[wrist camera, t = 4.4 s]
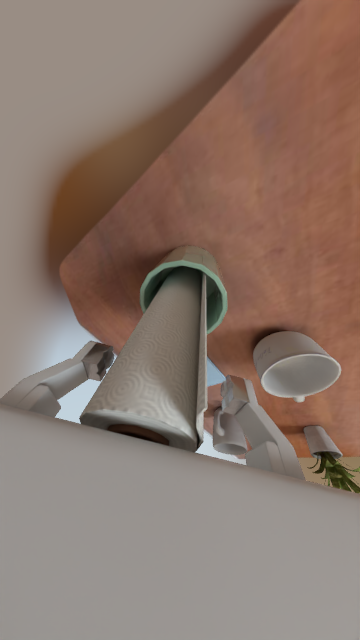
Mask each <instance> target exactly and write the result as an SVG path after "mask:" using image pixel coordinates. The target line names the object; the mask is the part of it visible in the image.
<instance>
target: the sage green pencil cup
mask: <svg viewBox="0 0 360 640" xmlns="http://www.w3.org/2000/svg"><path fill="white" fill-rule="evenodd" d="M178 266H187V267H191V268H195V269H196V270H197V271H198V272H199V273H200V275H201V277H202V278H203V272H204V273H205V274H206V328H207V334H209V333H211V332H212V331H213V330H214V329H215V328H216V327H217V326H218V325H220V324H221V322H222V320H223V318H224V316H225V313H226V311H227V292H226V288H225V285H224V281H223V278H222V274H221V270H220V268H219V266H218V264H217V262H216V260H215V258H214V256H212V255H211V254H210V253H209V252H207V251H206V250H205V249H203V248H200V247H196V246H191V245H188V246H183V247H179V248H176V249H174V250H173V251H171V252H170V253H169V254H167V255H166V256H165V257H164V258H163V259H162V260H161V261H160V262H159V263H158V264H157V265H156V266H155V267H154V268H153V269H152V270H151V271H150V272H149V273H148V275H147V277H146V278H145V280H144V282H143V284H142V286H141V288H140V306H141V308H142V311H143V313H145V312H146V310H147V308H148V307H149V305H150V304H151V302H152V300H153V299H154V297H155V296H156V294H157V292H158V291H159V289H160V288H161V286H162V284H163V283H164V281H165V280H166V278H167V276H168V275H169V274H170V272H171V271H172V270H173V269H175V268H176V267H178Z"/></svg>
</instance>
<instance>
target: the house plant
mask: <svg viewBox="0 0 360 640" xmlns="http://www.w3.org/2000/svg"><path fill="white" fill-rule="evenodd" d="M304 433H305V436H306V440H307V443H308V446H309V449H310V453H311V455H312V456H313V457H315V458H317V463H318V458H319V459H321V464H320V468H319V470H317V471H315V472H314V473H317V474H318V473H322V472H323V471H324V468H325V469H326V474H325V478H322V479H328V486H330V479H331V482H332V485H333V487H334V488H338V489H342V490H346V491H350V492H352V491H351V490H350V488H349V487H348V485H349V486H350V487H351V488H352V489H353V490H354V492H355V493H358V494H360V488H359V487H358V486H357V485H356V484H355V483H354V482H352V481H351V480H350V478H352V477H355V476H353V475H351V474H350V473H348V472H347V471H346V470H345V469H346V468H345V467H343V466H341V464H340V463H339V462H338V461H336V460H335V459H338V458H340V457H342V453H341V452H340V451H339V449H338V448H337V447H336V445H335V444H334V443H333V441H332V440H331V438H330V437H329V436H328V434H327V433H326V432H325V430H324V429H323V428H322V427H320V426H307V427H305V428H304ZM317 463H316V464H317ZM315 466H316V465H315ZM315 466H314V467H315ZM311 468H313V467H311ZM344 468H345V469H344ZM347 470H348V469H347ZM350 471H354V472H359V471H360V467H359V468H357V469H355V470H350ZM329 475H330V478H329ZM345 481H346V482H347V484H348V485H347V484H346V482H345Z"/></svg>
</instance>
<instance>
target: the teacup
mask: <svg viewBox="0 0 360 640" xmlns="http://www.w3.org/2000/svg"><path fill="white" fill-rule="evenodd" d="M253 360H254V364H255V367H256V370H257V373H258V376H259V378H260V382H261V385H262V387H263V388H264V390H266V391H267V392H268V393H270V394H272V395H275V396H279V397H293V399H294V400H295V401H296V402H303V401H304V400H305V398H304V396H308V395H312V394H315V393H318V392H320V391H323V390H324V389H326V388H328V387H329V386H331V385H332V384H333V383H334V382H335V381H336V380H337V379H338V377H339V376H340V373H341V367H340V365H339V363H338V362H337V361H336V360H335V359H333V358H332V357H330V356H329V355H328V354H327V353H326V352H325V351H324V350H323V349H322V348H321V347H320V346H319V345H318V344H317V343H316V342H315V341H313V340H312V339H311V338H309V337H308V336H306V335H304V334H302V333H299V332H293V331H282V332H277V333H274V334H271V335H269V336H267V337H265V338H264V339H262V340H261V341H260V342H259V343H258V344H257V345H256V347H255V349H254V352H253Z"/></svg>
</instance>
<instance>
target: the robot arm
mask: <svg viewBox="0 0 360 640" xmlns="http://www.w3.org/2000/svg"><path fill="white" fill-rule="evenodd" d="M112 351H113V346H109V345H105V344H102V343H98V342H94V341H90V342H88V343H87V344H86V345H85V346H84V347H83V348H82V349H81V350H80V351H79V352H78V353H77V354H76V355H75V356H74V358H73V359H68V360H65V361H63V362H61V363H58V364H56V365H54V366H52V367H49V368H47V369H45V370H43V371H40V372H38V373H36V374H33V375H31V376H29V377H27V378H24V379H23V380H22V381H20V382H19V383H18V384H17V385H16V386H15V387H14V388H12V389H11V390H10V391H9V392H8V393H7V394H6V395H4V396H3V397H2V398H1V399H0V640H360V494H358V493H354V492H350V491H346V490H342V489H338V488H334V487H330V486H326V485H322V484H318V483H314V482H310V481H306V480H305V477H304V475H303V472H302V469H301V466H300V464H299V461H298V459H297V456H296V453H295V451H294V448H293V446H292V445H291V444H290V442H289V441H288V440H287V438H286V437H285V436H284V435H283V433H282V432H281V431H280V430H279V428H278V427H277V426H276V425H275V423H274V422H273V421H272V420H271V418H270V417H269V416H268V415H267V413H266V412H265V411H264V409H263V408H262V407H261V406H260V405H258V402H257V399H256V395H255V392H254V388H253V385H252V382H251V380H248V379H244V378H240V377H236V376H232V375H227V376H226V380H225V381H223V383H222V385H221V396H222V397H223V400H222V401H221V402H222V412H226V413H229V414H233V415H235V417H236V419H237V421H238V423H239V425H240V427H241V428H242V430H243V432H244V434H245V436H246V438H247V440H248V441H249V443H250V445H251V447H252V450H250V451H248V452H247V453H246V454H245V457H246V464H247V465H243V464H238V463H234V462H230V461H227V460H223V459H219V458H214V457H211V456H207V455H203V454H198V453H195V452H191V451H187V450H183V449H179V448H175V447H171V446H167V445H163V444H159V443H155V442H151V441H147V440H143V439H139V438H135V437H131V436H127V435H123V434H119V433H115V432H111V431H107V430H103V429H99V428H95V427H91V426H87V425H83V424H79V423H75V422H71V421H67V420H63V419H59V418H55V416H56V414H57V413H58V412H59V410H60V409H61V406H60V404H59V403H58V401H57V400H58V399H60V398H61V397H63V396H64V395H66V394H67V393H68V392H70V391H71V390H73V389H74V388H76V387H77V386H79V385H80V384H82V383H83V382H85V381H86V380H88V379H93V380H97V381H101V380H102V379H103V377H104V376H105V374H106V369H107V368H109V367H110V366H111V364H112V362H113V359H114V354H113V352H112Z"/></svg>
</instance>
